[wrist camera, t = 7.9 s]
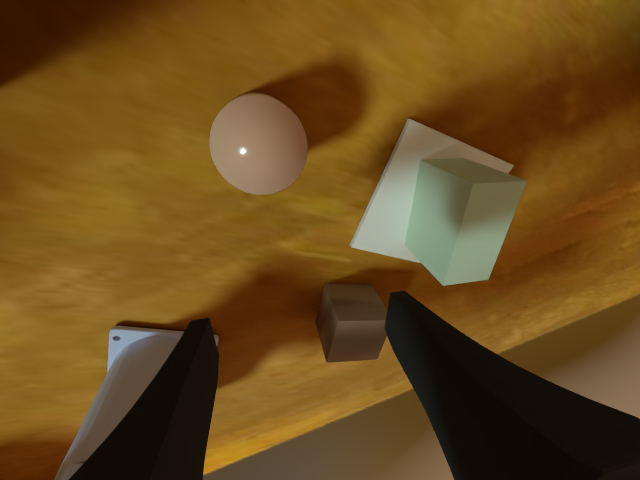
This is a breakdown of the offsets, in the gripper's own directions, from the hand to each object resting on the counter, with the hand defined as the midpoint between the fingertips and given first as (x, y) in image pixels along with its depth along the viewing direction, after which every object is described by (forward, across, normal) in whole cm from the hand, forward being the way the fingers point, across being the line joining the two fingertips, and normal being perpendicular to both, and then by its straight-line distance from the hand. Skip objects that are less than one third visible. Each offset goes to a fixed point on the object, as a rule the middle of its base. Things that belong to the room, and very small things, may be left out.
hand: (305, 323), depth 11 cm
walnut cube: (+10, -5, +9) cm, 15 cm away
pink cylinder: (+10, +1, -6) cm, 12 cm away
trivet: (+10, -12, 0) cm, 16 cm away
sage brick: (+10, -12, 0) cm, 15 cm away
